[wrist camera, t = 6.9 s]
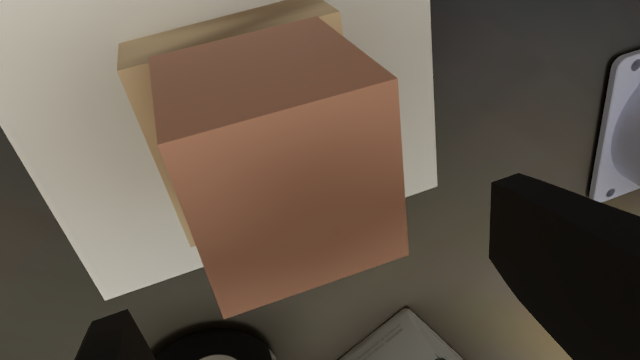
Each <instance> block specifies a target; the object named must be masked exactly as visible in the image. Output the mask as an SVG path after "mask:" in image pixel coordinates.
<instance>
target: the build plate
mask: <svg viewBox="0 0 640 360" xmlns="http://www.w3.org/2000/svg"><path fill="white" fill-rule="evenodd" d="M280 1H284V0H0V126H1V128H2V129H3V131H4V133H5V134H6V136H7V138H8V139H9V141H10V143H11V144H12V146H13V148H14V149H15V151H16V153H17V154H18V156H19V158H20V159H21V161H22V163H23V165H24V166H25V168H26V170H27V171H28V173H29V175H30V176H31V178H32V180H33V181H34V183H35V185H36V186H37V188H38V190H39V191H40V193H41V195H42V196H43V198H44V200H45V201H46V203H47V205H48V206H49V208H50V210H51V211H52V213H53V215H54V216H55V218H56V220H57V221H58V223H59V225H60V226H61V228H62V230H63V231H64V233H65V235H66V236H67V238H68V240H69V241H70V243H71V245H72V246H73V248H74V250H75V251H76V253H77V255H78V256H79V258H80V260H81V261H82V263H83V265H84V266H85V268H86V270H87V271H88V273H89V275H90V276H91V278H92V280H93V282H94V283H95V285H96V287H97V288H98V290H99V292H100V293H101V295H102V297H103V298H104V300H108V299H111V298H114V297H117V296H120V295H123V294H126V293H129V292H132V291H134V290H137V289H140V288H143V287H146V286H149V285H152V284H155V283H158V282H161V281H164V280H166V279H169V278H172V277H175V276H178V275H181V274H184V273H187V272H190V271H193V270H196V269H198V268H201V267H204V266H203V263H202V261H201V258H200V255H199V253H198V250H197V248H196V246H194V247H190V244H189V242H188V240H187V237H186V235H185V232H184V230H183V228H182V225H181V223H180V221H179V218H178V216H177V213H176V211H175V209H174V206H173V204H172V201H171V199H170V197H169V194H168V192H167V190H166V187H165V185H164V182H163V180H162V178H161V175H160V173H159V170H158V168H157V166H156V163H155V161H154V159H153V156H152V154H151V151H150V149H149V147H148V144H147V142H146V139H145V137H144V135H143V132H142V130H141V128H140V125H139V123H138V120H137V118H136V116H135V113H134V111H133V108H132V106H131V104H130V101H129V99H128V97H127V94H126V92H125V89H124V87H123V85H122V82H121V80H120V77H119V75H118V73H117V60H118V44H119V43H122V42H126V41H130V40H134V39H138V38H141V37H145V36H149V35H153V34H157V33H161V32H165V31H168V30H172V29H176V28H180V27H184V26H188V25H192V24H195V23H199V22H203V21H207V20H211V19H215V18H219V17H222V16H226V15H230V14H234V13H238V12H242V11H246V10H249V9H253V8H257V7H261V6H265V5H269V4H273V3H276V2H280ZM324 1H325V2H327V3H328V4H330V5H331V6H333V7H334V8H336V9H337V10H339V11H340V16H341V23H342V30H343V37H345V38H346V39H347V40H349V41H350V42H351V43H352V44H354V45H355V46H356V47H358V48H359V49H360V50H362V51H363V52H364V53H365V54H367V55H368V56H369V57H371V58H372V59H373V60H375V61H376V62H377V63H378V64H380V65H381V66H382V67H384V68H385V69H386V70H388V71H389V72H390V73H391V74H393V75H394V76H395V77H397V78H398V90H399V106H400V122H401V138H402V154H403V170H404V186H405V197H408V196H411V195H414V194H417V193H420V192H423V191H425V190H428V189H431V188H434V187H437V163H436V139H435V114H434V90H433V65H432V41H431V16H430V0H324Z"/></svg>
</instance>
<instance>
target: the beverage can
mask: <svg viewBox="0 0 640 360" xmlns="http://www.w3.org/2000/svg"><path fill="white" fill-rule="evenodd" d="M155 358H156V360H277V359H276V357H275V355H274V353H273V352H272V350H271V349H270V348H269V347H268V346H267V345H266V344H265V343H264V342H262V341H261V340H259V339H257V338H255V337H252V336H250V335H247V334H245V333H242V332H239V331H235V330H230V329H210V330H203V331H199V332H195V333H192V334H189V335H187V336H184V337H182V338H180V339H178V340H176V341H174V342H173V343H171V344H170V345H168V346H167V347H166V348H164V349H163V350H162V351H161V352H160V353H159V354H158V355H157V356H156V357H155Z"/></svg>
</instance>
